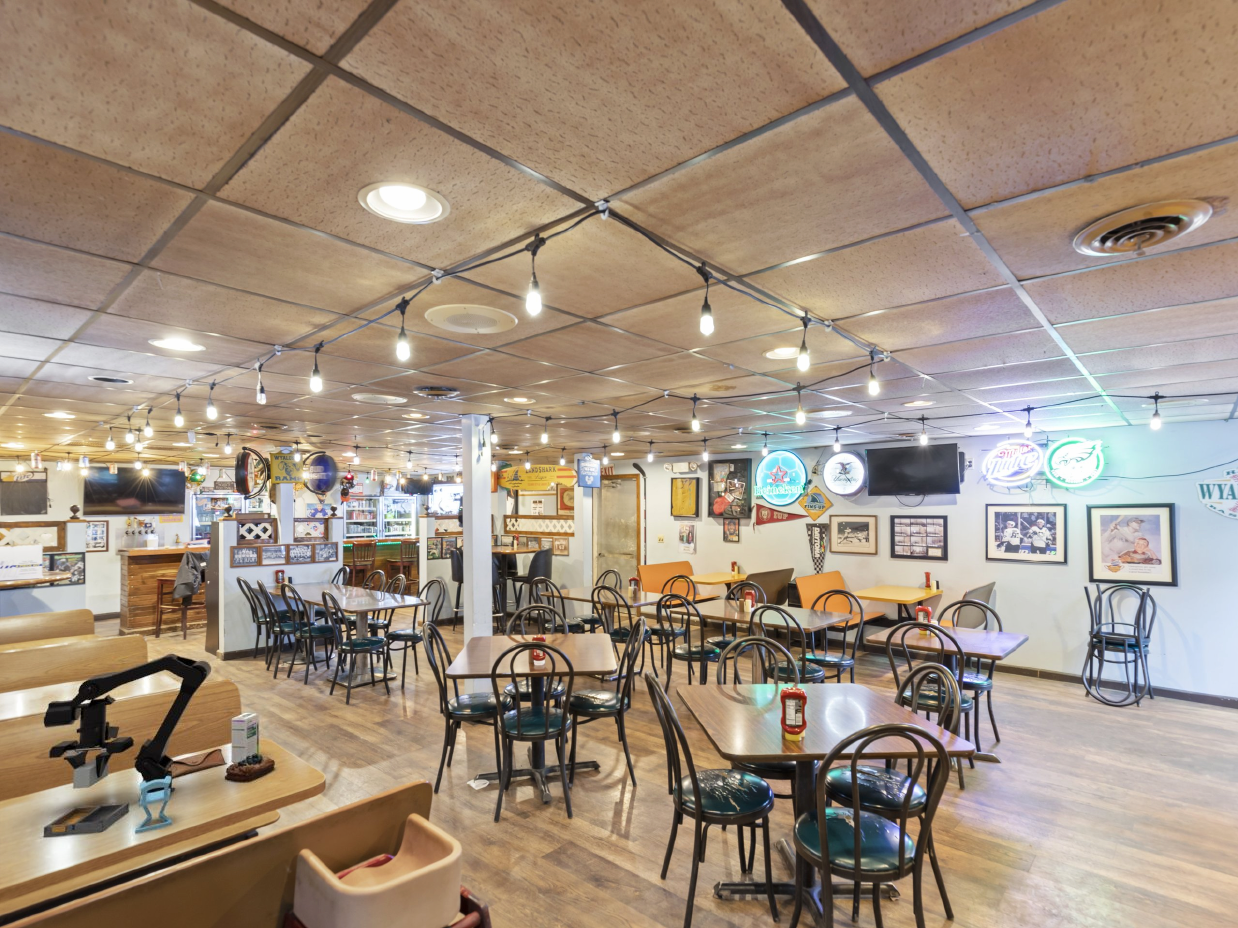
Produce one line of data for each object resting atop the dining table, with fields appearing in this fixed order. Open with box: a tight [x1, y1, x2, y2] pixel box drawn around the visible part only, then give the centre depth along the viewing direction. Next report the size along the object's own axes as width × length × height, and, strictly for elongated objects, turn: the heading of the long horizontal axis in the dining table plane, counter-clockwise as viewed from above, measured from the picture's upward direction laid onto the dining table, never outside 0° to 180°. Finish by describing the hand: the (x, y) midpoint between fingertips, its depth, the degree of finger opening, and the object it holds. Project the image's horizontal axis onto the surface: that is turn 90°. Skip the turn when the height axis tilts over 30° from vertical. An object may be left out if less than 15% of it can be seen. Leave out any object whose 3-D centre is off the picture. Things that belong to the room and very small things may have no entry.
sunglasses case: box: [168, 748, 228, 780], centre depth 203 cm, size 18×7×7 cm
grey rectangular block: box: [72, 758, 110, 789], centre depth 179 cm, size 4×8×5 cm, turn 8°
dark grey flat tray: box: [43, 802, 130, 838], centre depth 168 cm, size 14×11×2 cm
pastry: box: [224, 754, 276, 783], centre depth 198 cm, size 11×12×6 cm
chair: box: [134, 776, 173, 834], centre depth 168 cm, size 8×8×12 cm
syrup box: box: [231, 712, 260, 763], centre depth 210 cm, size 6×6×14 cm
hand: (91, 777), depth 179 cm, fingers closed on grey rectangular block, 4 cm apart
